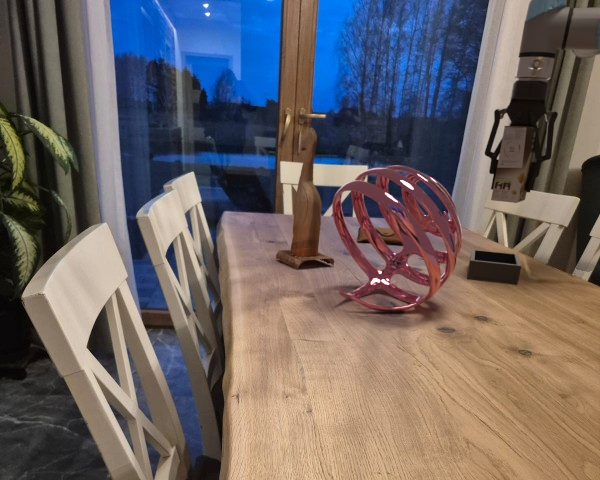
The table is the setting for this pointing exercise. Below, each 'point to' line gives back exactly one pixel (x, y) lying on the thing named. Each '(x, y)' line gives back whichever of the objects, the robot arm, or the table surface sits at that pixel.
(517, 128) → the coffee box
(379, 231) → the sunglasses case
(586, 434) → the table surface
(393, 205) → the spiral basket
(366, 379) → the table surface
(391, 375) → the table surface
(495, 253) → the box
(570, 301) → the table surface
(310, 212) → the bird sculpture
